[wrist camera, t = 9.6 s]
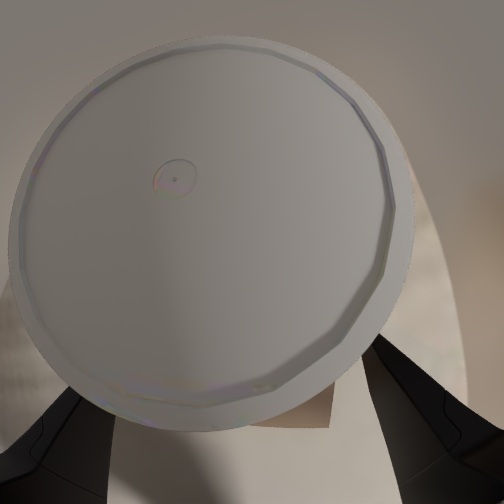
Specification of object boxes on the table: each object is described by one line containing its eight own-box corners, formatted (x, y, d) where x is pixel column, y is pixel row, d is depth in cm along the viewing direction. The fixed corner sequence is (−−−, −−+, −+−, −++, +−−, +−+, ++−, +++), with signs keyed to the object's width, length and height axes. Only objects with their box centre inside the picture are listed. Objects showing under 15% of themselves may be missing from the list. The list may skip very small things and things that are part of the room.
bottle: (172, 290, 18) (-31, 206, 4) (250, 217, 19) (212, -2, 4) (247, 370, 17) (173, 536, 2) (327, 292, 18) (503, 191, 3)
